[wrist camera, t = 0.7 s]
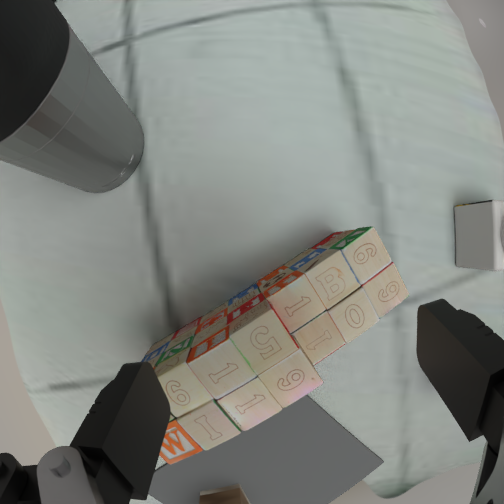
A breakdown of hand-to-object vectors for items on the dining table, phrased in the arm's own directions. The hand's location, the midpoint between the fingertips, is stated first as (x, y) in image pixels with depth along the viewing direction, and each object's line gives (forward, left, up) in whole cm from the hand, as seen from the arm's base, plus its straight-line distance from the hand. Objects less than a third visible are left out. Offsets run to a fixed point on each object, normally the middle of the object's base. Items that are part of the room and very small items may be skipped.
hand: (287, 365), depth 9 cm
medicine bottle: (+16, +23, -22) cm, 35 cm away
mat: (+20, -16, -21) cm, 33 cm away
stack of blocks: (+3, -2, -22) cm, 22 cm away
